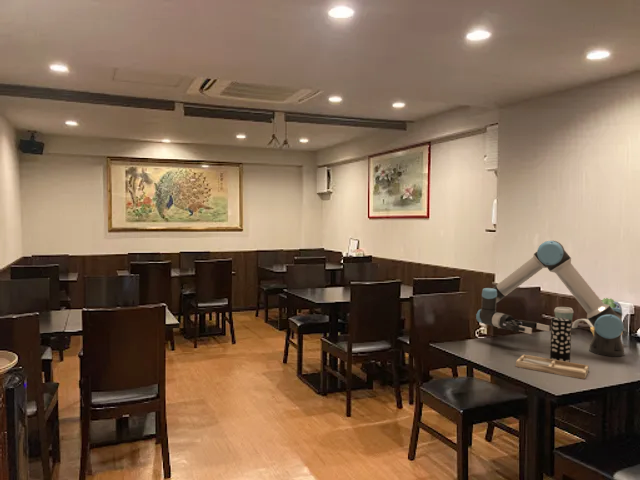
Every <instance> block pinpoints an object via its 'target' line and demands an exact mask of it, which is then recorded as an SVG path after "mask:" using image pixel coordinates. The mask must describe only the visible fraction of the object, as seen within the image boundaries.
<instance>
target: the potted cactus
mask: <svg viewBox="0 0 640 480" xmlns="http://www.w3.org/2000/svg"><path fill="white" fill-rule="evenodd" d="M601 301H602V302H603V303H604V304H607V305H609V306H610V307H611V308H619V309H621V310H622V311H623V308H622V306H621V304H620V303H619V302H618V301H615V300H614V299H612V298H609V297H606V298H603V299H601ZM589 328H590V329H589V330H590V332H591V333H592V336H593V337H594V327H590V326H589ZM622 335H623V332H622V333H621V336H622Z"/></svg>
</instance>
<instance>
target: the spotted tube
mask: <svg viewBox="0 0 640 480" xmlns="http://www.w3.org/2000/svg"><path fill="white" fill-rule="evenodd" d="M572 321H573V319H572V320H570V319H566V318H555V317H551V323H550V346H549V347H550V348H549V349H550V350H549V359H554V360H559V361H565V362H571V347H572V346H571V343H572V324H573V322H572Z"/></svg>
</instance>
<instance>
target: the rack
mask: <svg viewBox="0 0 640 480" xmlns="http://www.w3.org/2000/svg"><path fill="white" fill-rule="evenodd" d="M516 367H517V368H522V369H527V370H531V371H538V372H543V373H549V374H553V373H554V374H555V375H560V376H564V377H570V378H575V379H582V380H585V379H586V377H587V375H588V373H589V368H590V365H588V364H583V363H577V362H571V361H570V362H565V361H559V360H554V359H550V358H546V357H541V356H536V355H529V354H522V355H521V356H520V357H519V358H518V359H517V360H515V368H516Z"/></svg>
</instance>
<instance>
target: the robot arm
mask: <svg viewBox="0 0 640 480" xmlns="http://www.w3.org/2000/svg"><path fill="white" fill-rule="evenodd" d="M532 256H533V257H531V258H530V259H528V260H527V261H526V262H525V263H523V264H522V265H521V266H520V267H518V268H516V269H515V271H512V272H511V273H510V274H509V275H508V276H507V277H505V278H504V279H503V280H501V281H500V282H499V283H497V284H496V285H495V286H494V287H492V288H491V287H485V288H482V291H481V307H480V309H478V311H477V313H476V314H475V315H476V316H475V317H476V318H475V319H476V321H477V322H478V323H480V324H483V325H487V326H491V327H495V328H496V327H497V329H502V330H503V329H504V330H508V331H509V330H510V331H512V332H515V333H519V332H522V333H525V334H530V335H532V334H533V328H534V329H536V330H541V331H546V332H550V331H551V325H548V324H543V323H540V322H539V321H530V320H523V319H519V320H518V319H515V318H514V316H512V315H510V314H506V313H503V312H497V303H499V302H500V301H501V300H502V299H505V297H506V296H508V294H511V293H512V292H513V291H514V290H515V289H517V288H518V287H520V286H521V285H522V284H524V283H525V282H527V281H528V280H529V279H530V278H532V277H533V276H534V275H536V274H538V273H539V272H540V271H541V270H543V269H547V270H548V271H549V272H551V273H554V274H556V276H557V277H558V278H559V280H560V281H561V282H562V283H563V285H564V286H565V287H566V289H568V291H569V292H570V293H571V295H572V296H573V298H575V300H576V301H577V302H578V303H579V305H580V306H581V307H582V308H583V310H584V311H585V312H586V313H587V314H586V319H588V320H589V321H590V323H591V324H592V325H593V326H594V336H593V338H592V339H591V342H590V344H589V349H588V350H589V352H591V353H594V354H596V355H601V356H608V357H624V356H625V348H624V345H623V342H622V335H621V333H622V332H623V331H624V329H625V327H624V326H625V325H624V322H623V320H622V319H623V317H622V316H623V309H622V310H621V309H619V308H611V307H610V306H609V305H607V304H604V303H603V302H602V299H601V298H600V297H599V296H598V295H597V294H596V292H595V291H594V290H593V288H592V287H591V286H590V285H589V283H588V282H587V281H586V280H585V278H583V276H582V275H581V274H580V273H579V271H578V270H577V269H576V268H575V267H574V265H573V264H572V263H571V262H572V257H570V255H569V254H568V252H567V251H566V250H565V247H564V246H563V244H561V243H560V242H559V241H556V240H546V241H544V242H542V243H541V244H540V245H538V248H537V250H536V251H535V253H533V255H532ZM622 334H623V333H622Z"/></svg>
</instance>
